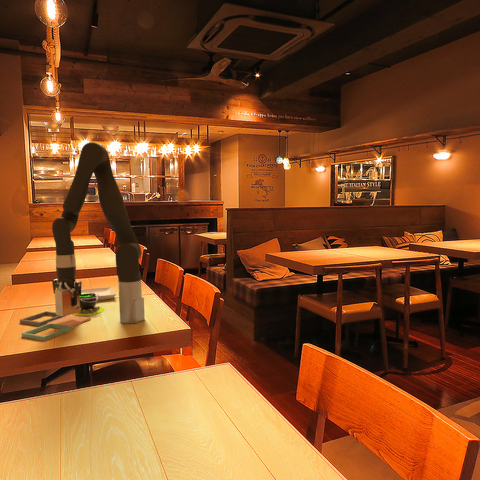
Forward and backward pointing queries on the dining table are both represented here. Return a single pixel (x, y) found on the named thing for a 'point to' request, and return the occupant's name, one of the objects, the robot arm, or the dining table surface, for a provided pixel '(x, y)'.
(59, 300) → the small box
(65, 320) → the terracotta tile
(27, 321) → the grey rectangular frame
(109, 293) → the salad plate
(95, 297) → the toy cauldron
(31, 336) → the green rectangular frame
